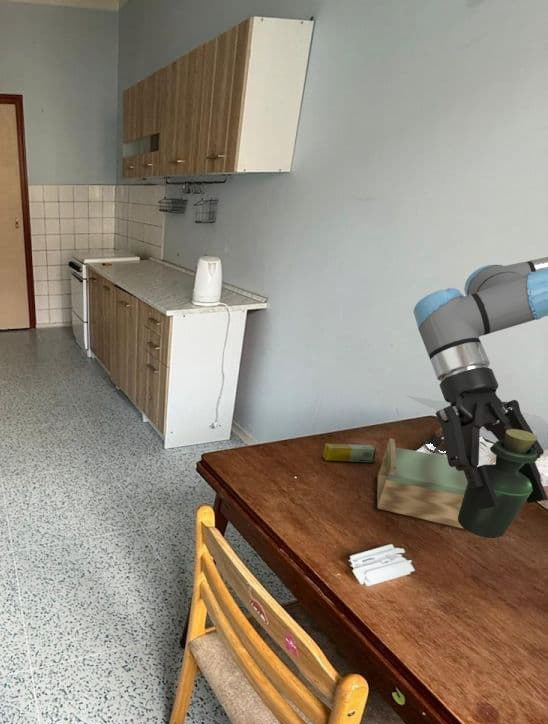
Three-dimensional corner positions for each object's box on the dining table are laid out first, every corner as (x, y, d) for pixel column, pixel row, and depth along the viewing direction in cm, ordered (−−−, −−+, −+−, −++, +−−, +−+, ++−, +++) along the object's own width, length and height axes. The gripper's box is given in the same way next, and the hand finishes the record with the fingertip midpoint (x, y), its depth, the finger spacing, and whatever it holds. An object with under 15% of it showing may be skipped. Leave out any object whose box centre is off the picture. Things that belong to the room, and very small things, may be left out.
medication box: (369, 458, 123) (372, 444, 122) (373, 463, 121) (377, 448, 119) (321, 456, 124) (325, 442, 123) (325, 460, 122) (328, 446, 120)
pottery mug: (423, 440, 133) (448, 418, 128) (453, 463, 129) (480, 442, 125) (419, 446, 123) (446, 423, 119) (451, 472, 120) (480, 449, 116)
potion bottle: (522, 540, 78) (571, 445, 70) (476, 544, 78) (519, 449, 69) (483, 511, 85) (523, 421, 77) (440, 514, 85) (476, 424, 76)
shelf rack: (455, 494, 109) (472, 453, 103) (464, 528, 98) (484, 484, 93) (377, 477, 115) (389, 438, 110) (377, 508, 104) (391, 466, 99)
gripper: (497, 379, 87) (546, 501, 80) (394, 388, 84) (437, 515, 77) (537, 360, 79) (595, 492, 73) (426, 370, 77) (476, 508, 70)
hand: (514, 504), depth 75 cm, fingers closed on potion bottle, 8 cm apart
